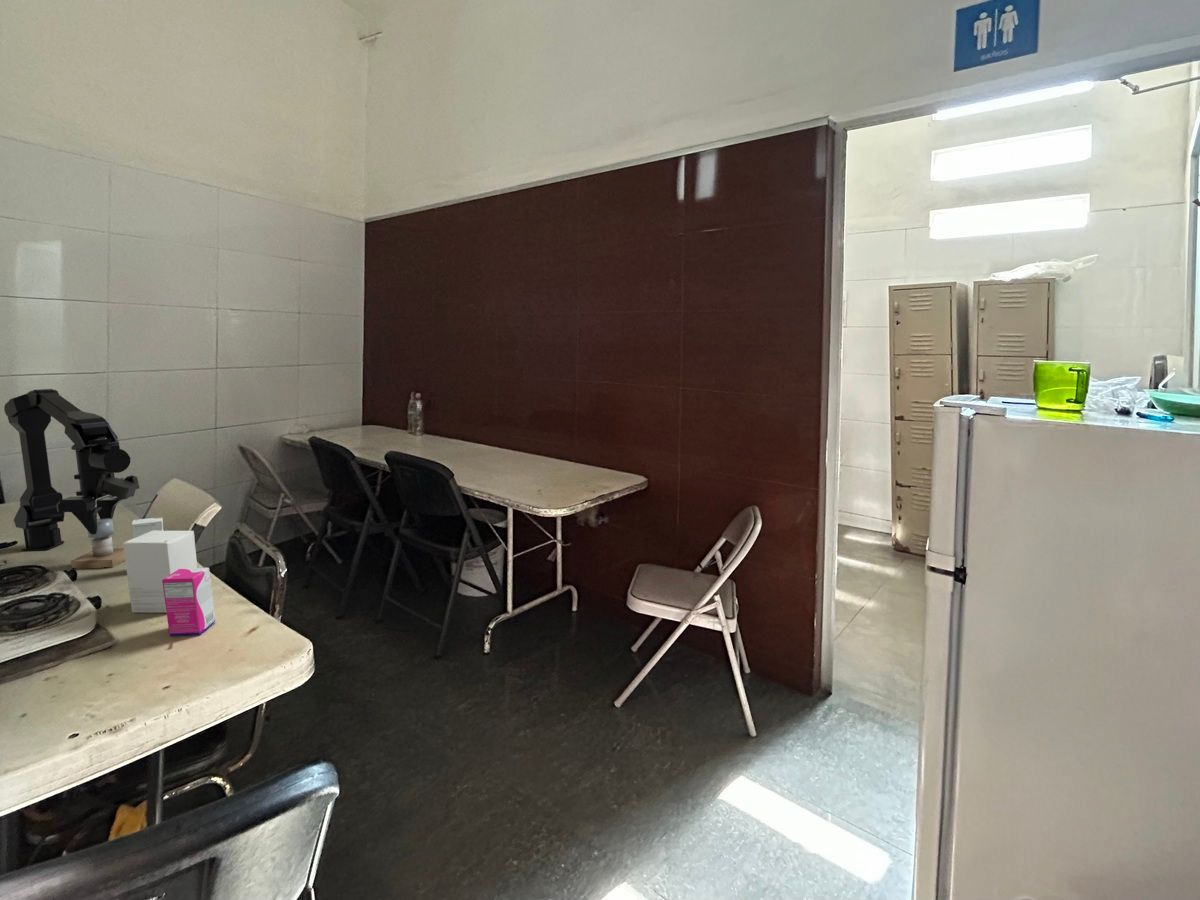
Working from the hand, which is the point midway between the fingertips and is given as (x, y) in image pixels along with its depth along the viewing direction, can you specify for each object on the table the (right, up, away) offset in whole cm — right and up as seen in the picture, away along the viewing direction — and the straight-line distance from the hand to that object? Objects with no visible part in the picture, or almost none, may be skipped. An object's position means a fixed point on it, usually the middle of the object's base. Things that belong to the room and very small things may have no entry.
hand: (100, 530), depth 154 cm
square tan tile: (0, -8, +1) cm, 8 cm away
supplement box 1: (+33, -13, -23) cm, 42 cm away
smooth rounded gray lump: (0, -1, 0) cm, 1 cm away
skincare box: (+15, -9, -3) cm, 17 cm away
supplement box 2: (+45, -15, -34) cm, 59 cm away
